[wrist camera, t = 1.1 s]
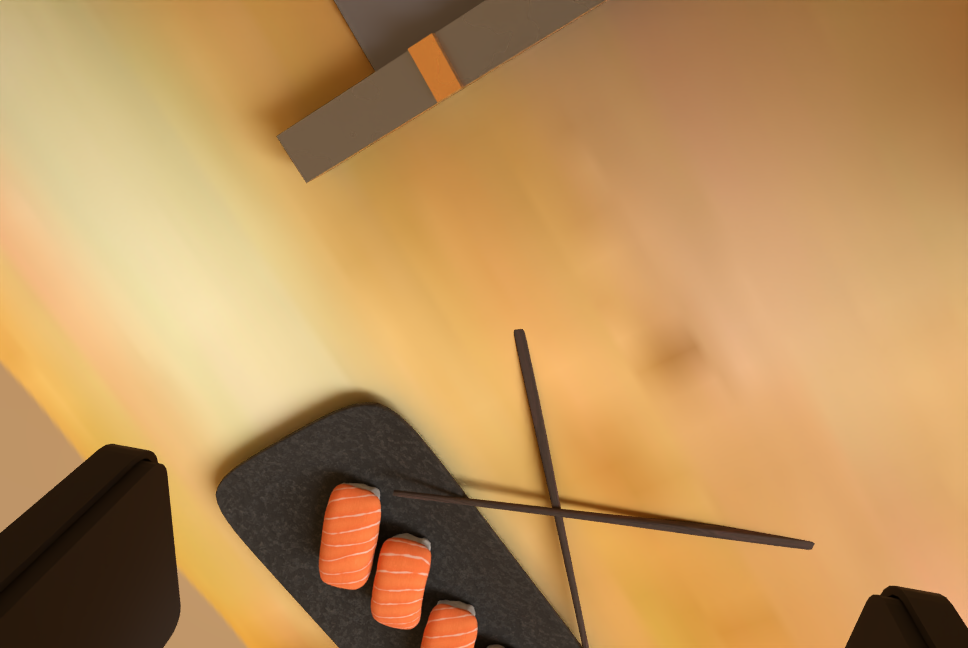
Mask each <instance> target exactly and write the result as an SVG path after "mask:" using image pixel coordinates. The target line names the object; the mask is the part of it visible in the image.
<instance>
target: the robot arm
mask: <svg viewBox="0 0 968 648" xmlns="http://www.w3.org/2000/svg"><path fill="white" fill-rule="evenodd" d="M179 596H180V595H179V585H178V576H177V565H176V555H175V546H174V536H173V526H172V516H171V506H170V496H169V486H168V476H167V470H166V468H165V466H164V465H163V464H159V463H158V461H157V457H156V455H155V454H154V453H153V452H151V451H149V450H144V449H138V448H133V447H127V446H121V445H116V444H108V445H105V446H103V447H102V448H100V449H99V450H98V451H96V452H95V453H94V454H93V455H92V456H91V457H89V458H88V459H87V460H86V461H85V462H83V463H82V464H81V465H80V466H79V467H78V468H76V469H75V470H74V471H73V472H72V473H70V474H69V475H68V476H67V477H66V478H65V479H63V480H62V481H61V482H60V483H59V484H58V485H56V486H55V487H54V488H53V489H52V490H51V491H49V492H48V493H47V494H46V495H45V496H43V497H42V498H41V499H40V500H39V501H38V502H36V503H35V504H34V505H33V506H32V507H30V508H29V509H28V510H27V511H26V512H25V513H23V514H22V515H21V516H20V517H19V518H17V519H16V520H15V521H14V522H13V523H12V524H10V525H9V526H8V527H7V528H6V529H5V530H3V531H2V532H1V533H0V648H163V647H164V646H165V644H166V643H167V641H168V640H169V638H170V637H171V635H172V633H173V632H174V630H175V628H176V625H177V622H178V620H179V616H180V597H179ZM845 648H968V628H967V626H966V625H965V623H964V622H963V620H962V619H961V617H960V616H959V614H958V613H957V611H956V610H955V608H954V606H953V605H952V604H951V603H950V601H949V600H948V599H947V598H946V597H944V596H942V595H941V594H937V593H932V592H926V591H921V590H915V589H910V588H904V587H899V586H889V587H887V588H886V589H884V590H883V592H882V593H881V595H872V596H871V597H869V599H868V600H867V602H866V604H865V606H864V608H863V610H862V612H861V615H860V617H859V619H858V621H857V623H856V625H855V627H854V630H853V632H852V634H851V636H850V638H849V640H848V642H847V645H846V647H845Z"/></svg>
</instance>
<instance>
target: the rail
mask: <svg viewBox="0 0 968 648" xmlns="http://www.w3.org/2000/svg"><path fill="white" fill-rule="evenodd" d="M606 1H608V0H485V1H484V2H482V3H480V4H479V5H477V6H476V7H474V8H473V9H471V10H470V11H468V12H467V13H465V14H464V15H462V16H461V17H459V18H457V19H456V20H454V21H453V22H451V23H450V24H448V25H447V26H445V27H444V28H442V29H441V30H439V31H437V32H436V33H431V34H430V35H428V36H427V37H425V38H424V39H422V40H421V41H419V42H417V43H416V44H414V45H413V46H411V47H410V48H408V51H407V52H405V53H404V54H402V55H401V56H399V57H398V58H396V59H394V60H393V61H391V62H390V63H388V64H387V65H385V66H384V67H382V68H381V69H379V70H378V71H376V72H374V73H373V74H371V75H370V76H368V77H367V78H365V79H364V80H362V81H361V82H359V83H358V84H356V85H354V86H353V87H351V88H350V89H348V90H347V91H345V92H344V93H342V94H341V95H339V96H338V97H336V98H335V99H333V100H331V101H330V102H328V103H327V104H325V105H324V106H322V107H321V108H319V109H318V110H316V111H315V112H313V113H311V114H310V115H308V116H307V117H305V118H304V119H302V120H301V121H299V122H298V123H296V124H295V125H293V126H291V127H290V128H288V129H287V130H285V131H284V132H282V133H281V134H279V135H278V136H277V138H278V140H279V141H280V143H281V144H282V146H283V147H284V149H285V150H286V152H287V154H288V155H289V157H290V158H291V160H292V161H293V163H294V164H295V166H296V168H297V169H298V171H299V172H300V174H301V175H302V177H303V178H304V180H305V181H306V183H307V182H309V181H311V180H313V179H315V178H317V177H319V176H321V175H323V174H324V173H326V172H328V171H329V170H331V169H333V168H334V167H336V166H338V165H339V164H341V163H342V162H344V161H346V160H347V159H349V158H351V157H352V156H354V155H356V154H357V153H359V152H360V151H362V150H364V149H365V148H367V147H369V146H370V145H372V144H374V143H375V142H377V141H378V140H380V139H382V138H383V137H385V136H387V135H388V134H390V133H392V132H393V131H395V130H396V129H398V128H400V127H401V126H403V125H405V124H406V123H408V122H410V121H411V120H413V119H414V118H416V117H418V116H419V115H421V114H423V113H424V112H426V111H428V110H429V109H431V108H432V107H434V106H436V105H437V104H439V103H441V102H442V101H444V100H446V99H447V98H449V97H450V96H452V95H454V94H455V93H457V92H459V91H460V90H462V89H464V88H465V87H467V86H468V85H470V84H472V83H473V82H475V81H477V80H478V79H480V78H482V77H483V76H485V75H486V74H488V73H490V72H491V71H493V70H495V69H496V68H498V67H500V66H501V65H503V64H504V63H506V62H508V61H509V60H511V59H513V58H514V57H516V56H518V55H519V54H521V53H522V52H524V51H526V50H527V49H529V48H531V47H532V46H534V45H536V44H537V43H539V42H540V41H542V40H544V39H545V38H547V37H549V36H550V35H552V34H554V33H555V32H557V31H558V30H560V29H562V28H563V27H565V26H567V25H568V24H570V23H572V22H573V21H575V20H576V19H578V18H580V17H581V16H583V15H585V14H586V13H588V12H590V11H591V10H593V9H594V8H596V7H598V6H599V5H601V4H603V3H604V2H606Z"/></svg>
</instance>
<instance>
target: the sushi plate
mask: <svg viewBox="0 0 968 648" xmlns="http://www.w3.org/2000/svg"><path fill="white" fill-rule="evenodd" d="M514 336H515V341H516V346H517V351H518V355H519V360H520V364H521V369H522V374H523V378H524V383H525V387H526V392H527V396H528V401H529V405H530V410H531V415H532V419H533V423H534V428H535V432H536V437H537V441H538V446H539V450H540V455H541V459H542V463H543V468H544V472H545V477H546V481H547V486H548V490H549V495H550V499H551V504H552V508H548V507H540V506H531V505H522V504H513V503H505V502H496V501H487V500H479V499H470V498H468V497H467V495H466V494H465V493H464V491H463V490H462V489H461V488H460V486H459V485H458V484H457V482H456V481H455V480H454V478H453V477H452V476H451V475H450V473H449V472H448V471H447V469H446V468H445V467H444V465H443V464H442V463H441V462H440V460H439V459H438V458H437V457H436V455H435V454H434V453H433V452H432V450H431V449H430V448H429V447H428V445H427V444H426V443H425V442H424V441H423V439H422V438H421V437H420V436H419V435H418V434H417V433H416V431H415V430H414V429H413V428H412V427H411V426H410V425H409V424H408V423H407V422H406V421H405V420H404V419H403V418H401V417H400V416H399V415H398V414H396V413H395V412H394V411H392V410H391V409H389V408H387V407H385V406H383V405H381V404H378V403H367V402H366V403H359V404H354V405H350V406H347V407H344V408H341V409H339V410H337V411H334V412H332V413H330V414H328V415H326V416H324V417H322V418H320V419H317V420H316V421H314V422H312V423H310V424H308V425H306V426H304V427H303V428H301V429H299V430H297V431H295V432H293V433H292V434H290V435H288V436H286V437H285V438H283V439H281V440H279V441H278V442H276V443H274V444H272V445H270V446H269V447H267V448H265V449H264V450H262V451H260V452H259V453H257V454H255V455H254V456H252V457H250V458H249V459H247V460H246V461H244V462H243V463H241V464H240V465H238V466H237V467H236V468H234V469H233V470H232V471H231V472H230V473H228V474H227V475H226V476H225V477H224V478H223V480H222V481H221V483H220V484H219V486H218V488H217V492H216V498H217V503H218V505H219V507H220V510H221V512H222V514H223V515H224V517H225V518H226V520H227V521H228V523H229V524H230V525H231V527H232V528H233V529H234V531H235V532H236V533H237V534H238V536H239V537H240V538H241V539H242V540H243V542H244V543H245V544H246V545H247V546H248V547H249V548H250V550H251V551H252V552H253V553H254V554H255V555H256V556H257V558H258V559H259V560H260V561H261V562H262V563H263V564H264V565H265V566H266V568H267V569H268V570H269V571H270V572H271V573H272V574H273V575H274V576H275V578H276V579H277V580H278V581H279V582H280V583H281V584H282V585H283V586H284V588H285V589H286V590H287V591H288V592H289V593H290V594H291V595H292V596H293V597H294V599H295V600H296V601H297V602H298V603H299V604H300V605H301V606H302V607H303V608H304V610H305V611H306V612H307V613H308V614H309V615H310V616H311V617H312V618H313V620H314V621H315V622H316V623H317V624H318V625H319V626H320V627H321V628H322V629H323V631H324V632H325V633H326V634H327V635H328V636H329V637H330V638H331V639H332V640H333V642H334V643H335V644H336V645H337V646H338V647H339V648H589V646H588V641H587V636H586V631H585V626H584V621H583V616H582V611H581V606H580V601H579V596H578V591H577V587H576V582H575V577H574V572H573V567H572V562H571V557H570V552H569V547H568V542H567V537H566V532H565V527H564V522H563V517H566V518H574V519H581V520H589V521H596V522H604V523H611V524H618V525H626V526H633V527H640V528H647V529H654V530H662V531H669V532H676V533H683V534H690V535H698V536H706V537H713V538H721V539H728V540H736V541H744V542H751V543H759V544H767V545H774V546H782V547H790V548H799V549H807V550H810V549H812V548H813V546H814V544H815V543H813V542H810V541H805V540H799V539H794V538H788V537H783V536H777V535H771V534H765V533H760V532H754V531H748V530H743V529H737V528H731V527H725V526H718V525H710V524H701V523H692V522H682V521H672V520H662V519H652V518H642V517H632V516H622V515H613V514H603V513H593V512H584V511H575V510H566V509H561V507H560V502H559V496H558V491H557V486H556V481H555V476H554V471H553V466H552V461H551V456H550V450H549V445H548V440H547V435H546V430H545V425H544V420H543V415H542V410H541V406H540V401H539V396H538V391H537V387H536V382H535V377H534V373H533V368H532V363H531V359H530V354H529V349H528V345H527V341H526V336H525V332H524V330H523V329H518V330H514ZM475 506H478V507H486V508H494V509H502V510H510V511H518V512H526V513H534V514H542V515H550V516H554V517H555V522H556V526H557V531H558V535H559V540H560V544H561V549H562V554H563V558H564V563H565V567H566V572H567V577H568V581H569V586H570V590H571V595H572V600H573V604H574V609H575V613H576V618H577V623H578V627H579V632H580V637H581V641H582V646H583V647H582V646H581V645H580V643H579V642H578V641H577V639H576V638H575V637H574V635H573V634H572V633H571V631H570V630H569V629H568V627H567V626H566V625H565V624H564V622H563V621H562V620H561V618H560V617H559V616H558V614H557V613H556V612H555V610H554V609H553V608H552V607H551V605H550V604H549V603H548V601H547V600H546V599H545V597H544V596H543V595H542V593H541V592H540V591H539V590H538V588H537V587H536V586H535V584H534V583H533V582H532V580H531V579H530V578H529V576H528V575H527V574H526V573H525V571H524V570H523V569H522V567H521V566H520V565H519V563H518V562H517V561H516V559H515V558H514V557H513V556H512V554H511V553H510V552H509V550H508V549H507V548H506V546H505V545H504V544H503V542H502V541H501V540H500V539H499V537H498V536H497V535H496V533H495V532H494V531H493V529H492V528H491V527H490V525H489V524H488V523H487V522H486V520H485V519H484V518H483V516H482V515H481V514H480V512H479V511H478V510H477V508H476V507H475Z"/></svg>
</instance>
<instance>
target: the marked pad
mask: <svg viewBox="0 0 968 648" xmlns="http://www.w3.org/2000/svg"><path fill="white" fill-rule="evenodd" d="M334 1H335V3H336V5H337V7H338V8H339V10H340V12H341V13H342V15H343V17H344V19H345V20H346V22H347V24H348V26H349V27H350V29H351V31H352V32H353V34H354V36H355V38H356V39H357V41H358V43H359V44H360V46H361V48H362V50H363V51H364V53H365V55H366V57H367V58H368V60H369V62H370V63H371V65H372V67H373V69H374V70H375V72H376V71H378V70H379V69H381V68H382V67H384V66H385V65H387V64H388V63H390V62H391V61H393V60H394V59H396V58H398V57H399V56H401V55H402V54H404V53H405V52H407V51H408V48H410V47H411V46H413V45H414V44H416V43H417V42H419V41H421V40H422V39H424V38H425V37H427V36H428V35H430V34H431V33H436V32H437V31H439V30H441V29H442V28H444V27H445V26H447V25H448V24H450V23H451V22H453V21H454V20H456V19H457V18H459V17H461V16H462V15H464V14H465V13H467V12H468V11H470V10H471V9H473V8H474V7H476V6H477V5H479V4H480V3H482V2H484V1H485V0H334Z"/></svg>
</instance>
